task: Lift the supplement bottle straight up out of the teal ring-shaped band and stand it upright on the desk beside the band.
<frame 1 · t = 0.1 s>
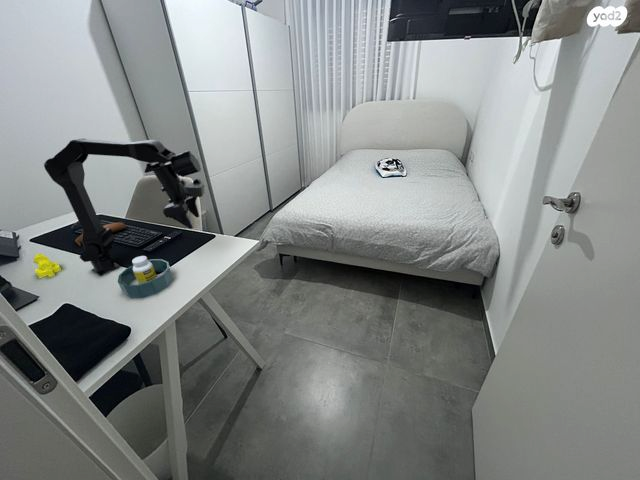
hand: (194, 222, 91), 15 cm above the table, tool pointing down, fingers open, 9 cm apart
supplement bottle: (149, 284, 86), resting in teal ring-shaped band
crumpled paper: (50, 272, 93), on the table
sunglasses case: (102, 236, 117), on the table
teal ring-shaped band: (149, 283, 86), on the table
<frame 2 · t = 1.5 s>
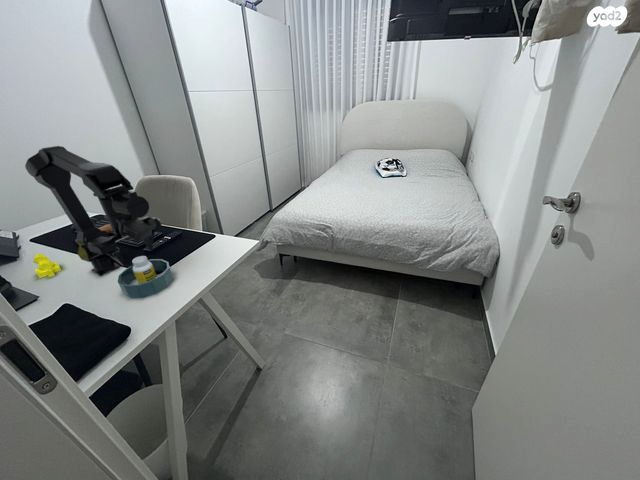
hand: (138, 257, 81), 10 cm above the table, tool pointing down, fingers open, 9 cm apart
nothing on the table moved.
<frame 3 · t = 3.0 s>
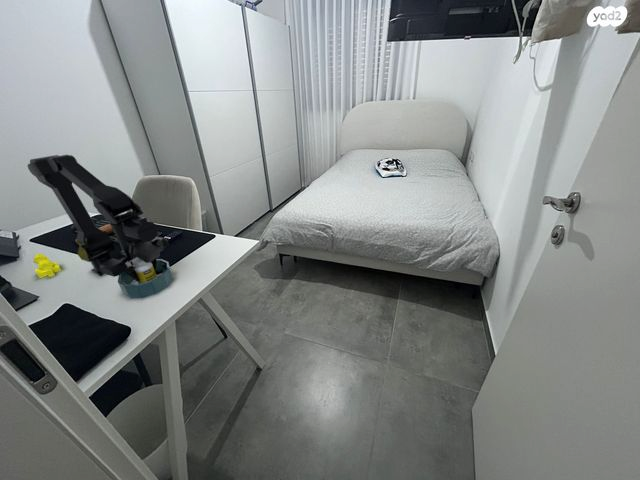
hand: (146, 276, 84), 3 cm above the table, tool pointing down, fingers closed on supplement bottle, 5 cm apart
supplement bottle: (149, 284, 86), resting in teal ring-shaped band, touching gripper
everything else where it was.
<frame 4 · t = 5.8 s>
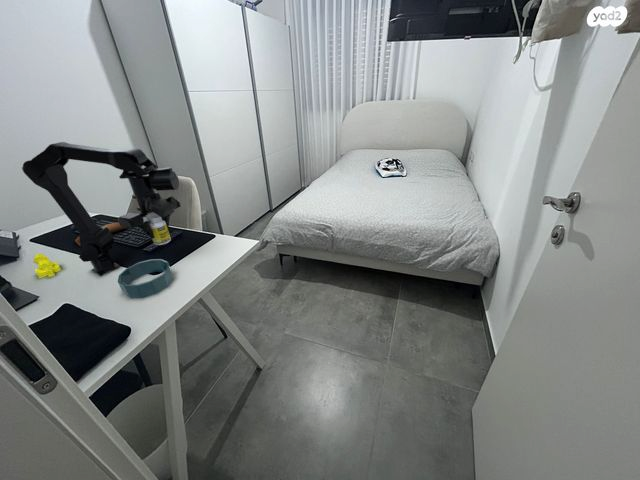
hand: (160, 234, 89), 13 cm above the table, tool pointing down, fingers closed on supplement bottle, 5 cm apart
supplement bottle: (163, 242, 91), point 9 cm above the table, touching gripper
everything else where it was.
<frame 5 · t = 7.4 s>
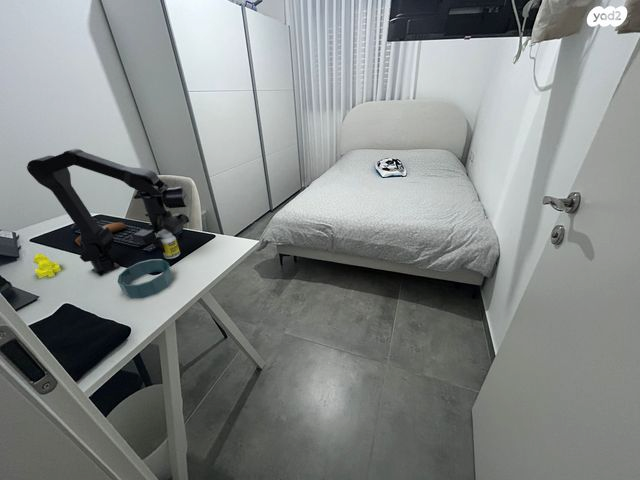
hand: (170, 248, 95), 6 cm above the table, tool pointing down, fingers closed on supplement bottle, 5 cm apart
supplement bottle: (172, 255, 96), point 2 cm above the table, touching gripper
everything else where it was.
when the fingers open (3 cm above the table, at t = 8.6 s): supplement bottle stays where it is, on the table.
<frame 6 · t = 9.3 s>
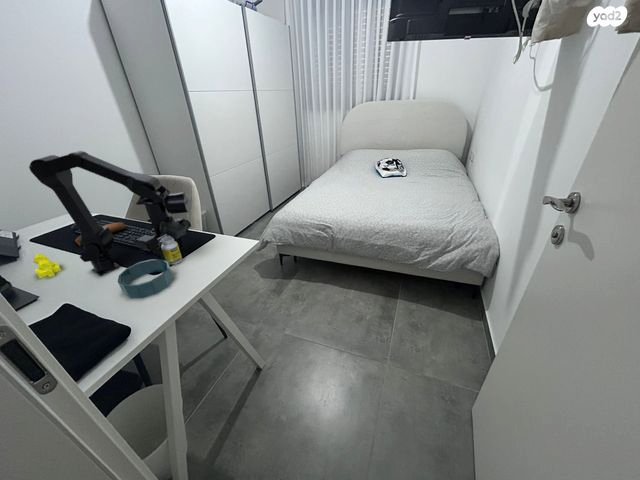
hand: (172, 253, 96), 4 cm above the table, tool pointing down, fingers open, 9 cm apart
supplement bottle: (174, 261, 98), on the table
everything else where it was.
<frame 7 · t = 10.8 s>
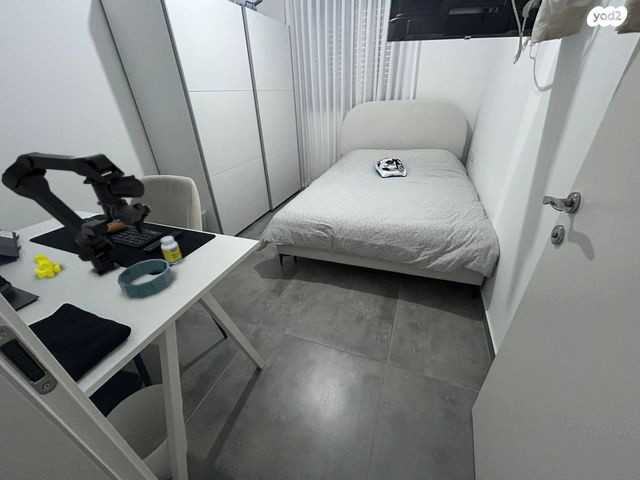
hand: (128, 241, 87), 12 cm above the table, tool pointing down, fingers open, 9 cm apart
nothing on the table moved.
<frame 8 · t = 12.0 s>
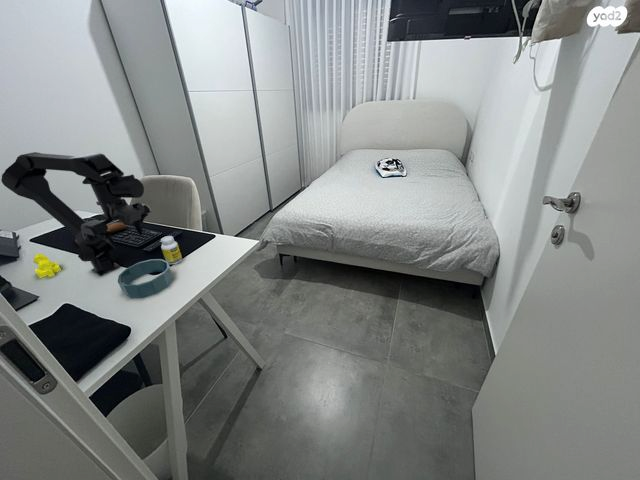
hand: (128, 241, 87), 12 cm above the table, tool pointing down, fingers open, 9 cm apart
nothing on the table moved.
at the end: supplement bottle inside the target area (0.1 cm from its centre), on the table; supplement bottle tilted 0°; the gripper is holding nothing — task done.
